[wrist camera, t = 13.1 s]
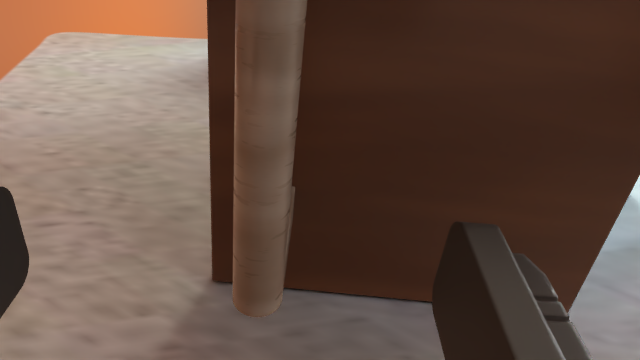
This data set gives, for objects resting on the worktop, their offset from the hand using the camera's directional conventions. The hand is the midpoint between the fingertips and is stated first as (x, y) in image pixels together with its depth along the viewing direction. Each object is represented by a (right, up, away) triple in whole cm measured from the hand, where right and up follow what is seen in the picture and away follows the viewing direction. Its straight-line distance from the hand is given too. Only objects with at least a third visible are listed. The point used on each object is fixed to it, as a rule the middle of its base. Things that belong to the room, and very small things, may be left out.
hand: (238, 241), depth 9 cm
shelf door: (+5, -5, +11) cm, 13 cm away
